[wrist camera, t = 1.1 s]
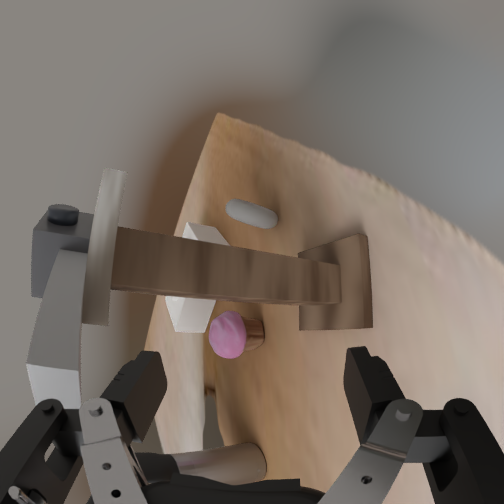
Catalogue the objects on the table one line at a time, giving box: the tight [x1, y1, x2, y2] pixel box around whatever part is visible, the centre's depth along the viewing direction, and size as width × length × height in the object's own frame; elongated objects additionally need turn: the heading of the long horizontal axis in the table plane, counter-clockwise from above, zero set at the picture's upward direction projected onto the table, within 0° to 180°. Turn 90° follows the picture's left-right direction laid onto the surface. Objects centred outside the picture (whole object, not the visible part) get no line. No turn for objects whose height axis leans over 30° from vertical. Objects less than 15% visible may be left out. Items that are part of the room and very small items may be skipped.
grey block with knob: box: [26, 204, 94, 409], centre depth 17 cm, size 20×7×5 cm, turn 53°
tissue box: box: [165, 222, 230, 333], centre depth 75 cm, size 14×25×11 cm, turn 139°
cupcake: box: [209, 311, 264, 358], centre depth 52 cm, size 9×9×10 cm
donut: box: [226, 199, 278, 229], centre depth 54 cm, size 10×4×10 cm, turn 55°
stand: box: [82, 168, 373, 330], centre depth 32 cm, size 12×12×32 cm
